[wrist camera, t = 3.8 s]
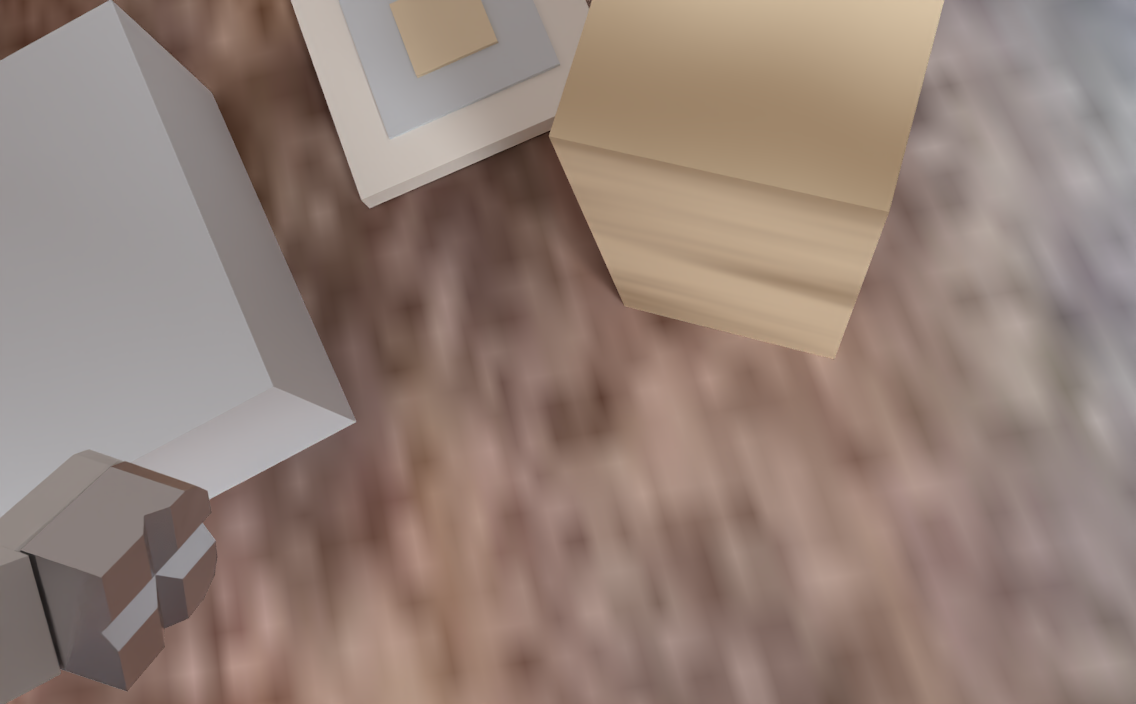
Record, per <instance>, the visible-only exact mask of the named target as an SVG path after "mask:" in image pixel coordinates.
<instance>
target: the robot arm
mask: <svg viewBox="0 0 1136 704" xmlns="http://www.w3.org/2000/svg"><path fill="white" fill-rule="evenodd" d="M211 513H212V512H211V506H210V501H209V496H208V491H207V490H205V489H202V488H200V487H198V486H195V485H193V484H190V483H187V482H184V481H181V480H178V479H175V478H172V477H170V476H167V475H164V474H161V473H158V472H155V471H152V470H149V469H147V468H144V467H141V466H138V465H135V464H132V463H129V462H126V461H122V460H119V459H116V458H113V457H111V456H108V455H105V454H102V453H99V452H96V451H93V450H90V449H88V450H85V451H82V452H79V453H76V454H74V455H72V456H71V457H70V458H69V459H68V460H66V461H65V462H64V463H63V464H62V465H61V466H59V467H58V468H57V469H56V470H55V471H54V472H53V473H51V474H50V475H49V476H48V477H47V478H46V479H44V480H43V481H42V482H41V483H40V484H39V485H37V486H36V487H35V488H34V489H33V490H32V491H31V492H29V493H28V494H27V495H26V496H25V497H24V498H22V499H21V500H20V501H19V502H18V503H17V504H16V505H14V506H13V507H12V508H11V509H10V510H9V511H7V512H6V513H5V514H4V515H3V516H2V517H1V518H0V704H6V703H8V702H9V701H11V700H13V699H15V698H17V697H19V696H21V695H22V694H24V693H26V692H28V691H30V690H32V689H34V688H35V687H37V686H39V685H41V684H43V683H45V682H47V681H48V680H50V679H52V678H54V677H56V676H58V675H60V674H61V670H60V669H62V670H65V671H68V672H71V673H74V674H77V675H80V676H83V677H86V678H89V679H92V680H95V681H98V682H101V683H103V684H106V685H109V686H112V687H115V688H118V689H121V690H124V691H128V690H129V689H130V688H131V687H132V685H133V684H134V683H135V682H136V681H137V679H138V678H139V677H140V676H141V675H142V673H143V672H144V671H145V670H146V669H147V668H148V666H149V665H150V664H151V663H152V662H153V660H154V659H155V658H156V657H157V656H158V654H159V653H160V652H161V651H162V650H163V648H164V647H165V628H167V627H169V626H172V625H174V624H176V623H179V622H181V621H183V620H186V619H188V618H189V617H190V616H191V615H192V613H193V612H194V611H195V610H196V608H197V607H198V606H199V605H200V603H201V602H202V601H203V600H204V598H205V596H206V593H207V591H208V589H209V587H210V585H211V582H212V580H213V578H214V576H215V570H216V563H217V549H216V541H215V539H214V538H213V537H212V535H211V534H210V533H209V531H208V530H207V529H206V527H205V526H204V525H203V522H204V520H205V519H206V518H207V517H208V516H209V515H210V514H211Z"/></svg>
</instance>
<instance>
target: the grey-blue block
mask: <svg viewBox="0 0 1136 704" xmlns="http://www.w3.org/2000/svg"><path fill="white" fill-rule="evenodd" d="M355 422H356V420H355V417H354V415H353V413H352V411H351V408H350V406H349V404H348V401H347V399H346V397H345V395H344V392H343V390H342V388H341V386H340V383H339V381H338V379H337V376H336V374H335V372H334V370H333V367H332V365H331V363H330V360H329V358H328V356H327V354H326V351H325V349H324V347H323V345H322V342H321V340H320V338H319V335H318V333H317V331H316V329H315V326H314V324H313V322H312V319H311V317H310V315H309V313H308V310H307V308H306V306H305V304H304V301H303V299H302V297H301V294H300V292H299V290H298V288H297V285H296V283H295V281H294V279H293V276H292V274H291V272H290V269H289V267H288V265H287V263H286V260H285V258H284V256H283V253H282V251H281V249H280V247H279V244H278V242H277V240H276V238H275V235H274V233H273V231H272V228H271V226H270V224H269V222H268V219H267V217H266V215H265V212H264V210H263V208H262V206H261V203H260V201H259V199H258V197H257V194H256V192H255V190H254V187H253V185H252V183H251V181H250V178H249V176H248V174H247V171H246V169H245V167H244V165H243V162H242V160H241V158H240V156H239V153H238V151H237V149H236V146H235V144H234V142H233V140H232V137H231V135H230V133H229V131H228V128H227V126H226V124H225V121H224V119H223V117H222V115H221V112H220V110H219V108H218V105H217V103H216V101H215V99H214V96H213V94H212V92H211V91H210V90H209V89H207V88H206V87H205V86H204V85H203V84H202V83H201V82H200V81H199V80H198V79H197V78H196V77H194V76H193V75H192V74H191V73H190V72H189V71H188V70H187V69H186V68H185V67H184V66H183V65H181V64H180V63H179V62H178V61H177V60H176V59H175V58H174V57H173V56H172V55H171V54H170V53H169V52H167V51H166V50H165V49H164V48H163V47H162V46H161V45H160V44H159V43H158V42H157V41H156V40H154V39H153V38H152V37H151V36H150V35H149V34H148V33H147V32H146V31H145V30H144V29H143V28H141V27H140V26H139V25H138V24H137V23H136V22H135V21H134V20H133V19H132V18H131V17H130V16H129V15H127V14H126V13H125V12H124V11H123V10H122V9H121V8H120V7H119V6H118V5H117V4H116V3H114V2H113V1H112V0H109V1H107V2H105V3H103V4H102V5H100V6H98V7H96V8H94V9H92V10H91V11H89V12H87V13H85V14H83V15H82V16H80V17H78V18H76V19H74V20H73V21H71V22H69V23H67V24H65V25H64V26H62V27H60V28H58V29H56V30H55V31H53V32H51V33H49V34H47V35H45V36H44V37H42V38H40V39H38V40H36V41H35V42H33V43H31V44H29V45H27V46H26V47H24V48H22V49H20V50H18V51H17V52H15V53H13V54H11V55H9V56H7V57H6V58H4V59H2V60H0V518H1V517H2V516H3V515H4V514H5V513H6V512H7V511H9V510H10V509H11V508H12V507H13V506H14V505H16V504H17V503H18V502H19V501H20V500H21V499H22V498H24V497H25V496H26V495H27V494H28V493H29V492H31V491H32V490H33V489H34V488H35V487H36V486H37V485H39V484H40V483H41V482H42V481H43V480H44V479H46V478H47V477H48V476H49V475H50V474H51V473H53V472H54V471H55V470H56V469H57V468H58V467H59V466H61V465H62V464H63V463H64V462H65V461H66V460H68V459H69V458H70V457H71V456H72V455H74V454H76V453H79V452H82V451H85V450H88V449H90V450H93V451H96V452H99V453H102V454H105V455H108V456H111V457H113V458H116V459H119V460H122V461H126V462H129V463H132V464H135V465H138V466H141V467H144V468H147V469H149V470H152V471H155V472H158V473H161V474H164V475H167V476H170V477H172V478H175V479H178V480H181V481H184V482H187V483H190V484H193V485H195V486H198V487H200V488H202V489H205V490H207V491H208V496H209V499H211V498H213V497H215V496H217V495H218V494H220V493H222V492H224V491H226V490H228V489H230V488H232V487H234V486H236V485H237V484H239V483H241V482H243V481H245V480H247V479H249V478H251V477H253V476H255V475H256V474H258V473H260V472H262V471H264V470H266V469H268V468H270V467H272V466H274V465H275V464H277V463H279V462H281V461H283V460H285V459H287V458H289V457H291V456H293V455H294V454H296V453H298V452H300V451H302V450H304V449H306V448H308V447H310V446H312V445H313V444H315V443H317V442H319V441H321V440H323V439H325V438H327V437H329V436H331V435H332V434H334V433H336V432H338V431H340V430H342V429H344V428H346V427H348V426H350V425H352V424H353V423H355Z"/></svg>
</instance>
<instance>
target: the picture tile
mask: <svg viewBox="0 0 1136 704" xmlns="http://www.w3.org/2000/svg"><path fill="white" fill-rule="evenodd" d="M291 2H292V5H293V8H294V11H295V14H296V16H297V19H298V22H299V25H300V28H301V31H302V33H303V36H304V39H305V42H306V45H307V48H308V50H309V53H310V56H311V59H312V62H313V65H314V67H315V70H316V73H317V76H318V79H319V82H320V84H321V87H322V90H323V93H324V96H325V99H326V101H327V104H328V107H329V110H330V113H331V116H332V118H333V121H334V124H335V127H336V130H337V133H338V135H339V138H340V141H341V144H342V147H343V150H344V152H345V155H346V158H347V161H348V164H349V167H350V169H351V172H352V175H353V178H354V181H355V184H356V186H357V189H358V192H359V195H360V198H361V200H362V201H363V202H364V203H365V204H366V205H367V206H368V207H369V208H372V207H374V206H376V205H379V204H381V203H383V202H385V201H388V200H390V199H392V198H395V197H397V196H399V195H402V194H404V193H406V192H409V191H411V190H413V189H416V188H418V187H420V186H422V185H425V184H427V183H429V182H432V181H434V180H436V179H439V178H441V177H443V176H446V175H448V174H450V173H453V172H455V171H457V170H459V169H462V168H464V167H466V166H469V165H471V164H473V163H476V162H478V161H480V160H483V159H485V158H487V157H490V156H492V155H494V154H496V153H499V152H501V151H503V150H506V149H508V148H510V147H513V146H515V145H517V144H520V143H522V142H524V141H527V140H529V139H531V138H533V137H536V136H538V135H540V134H543V133H545V132H547V131H550V130H551V128H552V124H553V121H554V118H555V115H556V112H557V109H558V106H559V102H560V99H561V96H562V93H563V90H564V87H565V84H566V80H567V77H568V74H569V71H570V68H571V65H572V62H573V58H574V55H575V52H576V49H577V46H578V43H579V40H580V36H581V33H582V30H583V27H584V24H585V21H586V18H587V15H588V11H589V7H588V5H587V2H586V0H291Z"/></svg>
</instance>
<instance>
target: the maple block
mask: <svg viewBox="0 0 1136 704" xmlns="http://www.w3.org/2000/svg"><path fill="white" fill-rule="evenodd" d="M943 3H944V0H592V2H591V5H590V8H589V11H588V15H587V18H586V21H585V24H584V27H583V30H582V33H581V36H580V40H579V43H578V46H577V49H576V52H575V55H574V58H573V62H572V65H571V68H570V71H569V74H568V77H567V80H566V84H565V87H564V90H563V93H562V96H561V99H560V102H559V106H558V109H557V112H556V115H555V118H554V121H553V124H552V128H551V131H550V134H549V138H550V140H551V142H552V145H553V147H554V149H555V151H556V154H557V156H558V158H559V160H560V163H561V165H562V167H563V169H564V172H565V174H566V176H567V178H568V181H569V183H570V185H571V187H572V189H573V192H574V194H575V196H576V198H577V201H578V203H579V205H580V207H581V210H582V212H583V214H584V216H585V219H586V221H587V223H588V225H589V228H590V230H591V232H592V234H593V237H594V239H595V241H596V243H597V246H598V248H599V250H600V252H601V255H602V257H603V259H604V261H605V263H606V266H607V268H608V270H609V272H610V275H611V277H612V279H613V281H614V284H615V286H616V288H617V290H618V293H619V295H620V297H621V299H622V302H623V304H624V306H626V307H630V308H634V309H638V310H642V311H646V312H650V313H654V314H657V315H661V316H665V317H669V318H673V319H677V320H681V321H685V322H689V323H693V324H697V325H701V326H705V327H709V328H712V329H716V330H720V331H724V332H728V333H732V334H736V335H740V336H744V337H748V338H752V339H756V340H760V341H764V342H768V343H771V344H775V345H779V346H783V347H787V348H791V349H795V350H799V351H803V352H807V353H811V354H815V355H819V356H823V357H827V358H830V359H835V356H836V353H837V351H838V348H839V345H840V343H841V340H842V337H843V335H844V332H845V329H846V326H847V324H848V321H849V318H850V316H851V313H852V310H853V308H854V305H855V302H856V300H857V297H858V294H859V291H860V289H861V286H862V283H863V281H864V278H865V275H866V273H867V270H868V267H869V265H870V262H871V259H872V256H873V254H874V251H875V248H876V246H877V243H878V240H879V238H880V235H881V232H882V229H883V227H884V224H885V221H886V219H887V216H888V213H889V210H890V206H891V202H892V199H893V195H894V191H895V187H896V183H897V179H898V176H899V172H900V168H901V164H902V160H903V156H904V153H905V149H906V145H907V141H908V137H909V133H910V130H911V126H912V122H913V118H914V114H915V110H916V107H917V103H918V99H919V95H920V91H921V87H922V84H923V80H924V76H925V72H926V68H927V64H928V61H929V57H930V53H931V49H932V45H933V41H934V38H935V34H936V30H937V26H938V22H939V18H940V15H941V11H942V7H943Z"/></svg>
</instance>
